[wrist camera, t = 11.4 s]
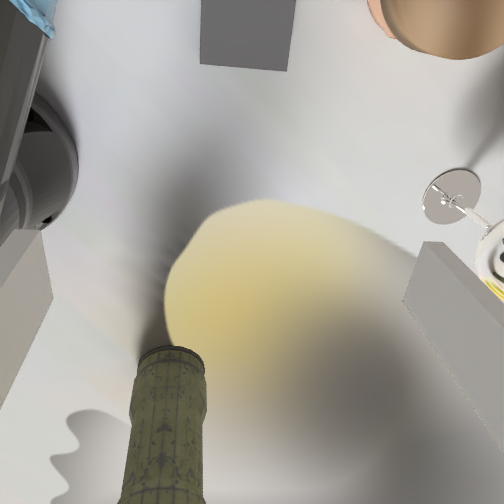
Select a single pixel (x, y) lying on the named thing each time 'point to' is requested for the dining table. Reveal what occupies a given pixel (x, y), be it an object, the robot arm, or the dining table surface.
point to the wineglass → (460, 205)
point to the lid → (447, 26)
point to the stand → (246, 33)
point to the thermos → (166, 429)
